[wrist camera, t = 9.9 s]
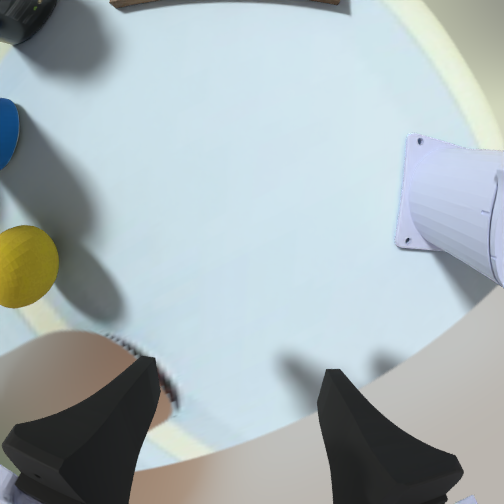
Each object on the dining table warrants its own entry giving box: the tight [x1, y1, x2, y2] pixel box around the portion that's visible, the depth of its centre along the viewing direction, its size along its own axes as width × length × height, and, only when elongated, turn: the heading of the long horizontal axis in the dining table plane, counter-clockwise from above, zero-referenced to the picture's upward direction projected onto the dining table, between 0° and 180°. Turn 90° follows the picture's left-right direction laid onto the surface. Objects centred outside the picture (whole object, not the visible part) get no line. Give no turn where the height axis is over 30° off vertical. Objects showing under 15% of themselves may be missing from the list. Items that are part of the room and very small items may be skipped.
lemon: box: [0, 225, 59, 308], centre depth 16 cm, size 6×6×8 cm
